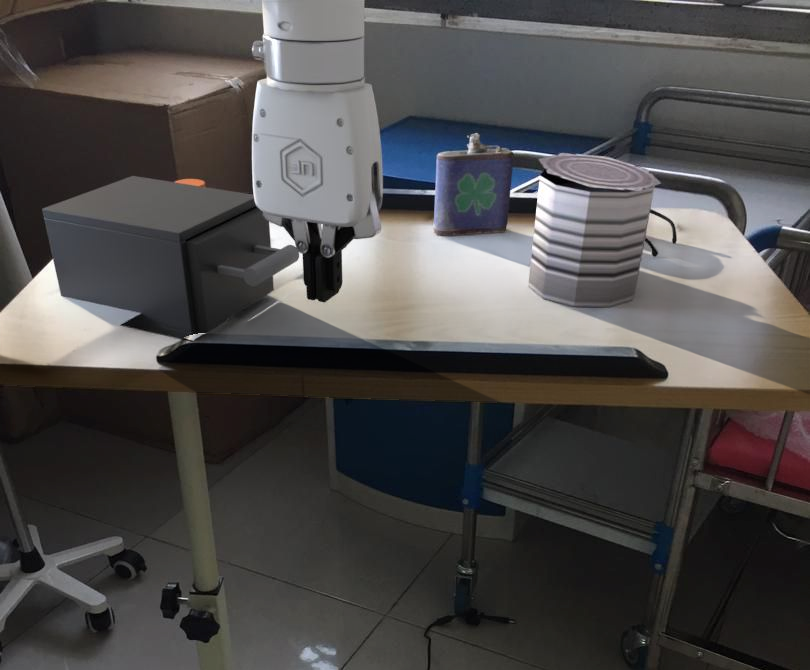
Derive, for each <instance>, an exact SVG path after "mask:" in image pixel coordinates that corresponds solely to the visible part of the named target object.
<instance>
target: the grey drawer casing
mask: <svg viewBox="0 0 810 670" xmlns="http://www.w3.org/2000/svg"><path fill="white" fill-rule="evenodd" d="M255 208H257V206H256V203H255V200H254V194H252V193H247V192H239V191H233V190H227V189H219V188H214V187H208V186H207V187H206V186H205V187H201V186H195V185H188V184H182V183H175V181H168V180H163V179H155V178H150V177H143V176H137V175H131V176H129V177H125V178H122V179H121V180H117V181H115V182H112V183H109V184H107V185H104V186H101V187H98V188H96V189H93V190H90V191H87V192H84V193H82V194H78V195H76V196H74V197H71V198H68V199H66V200H62V201H60V202H56V203H54V204H51V205H48V206H45V207H42V209H41V211H42V216H43V219H44V220H43V221H44V224H45V229H46V234H47V237H48V242H49V247H50V251H51V256H52V261H53V265H54V269H55V275H56V280H57V283H58V288H59V293H60V297H64V298H68V299H73V300H77V301H83V302H87V303H93V304H95V305H96V304H97V305H101V306H105V307H111V308H115V309H119V310H124V311H129V312H133V313H138V314H137V315H135V316H133V317H131V318H130V319H128V320H126V321H124V322H123V323H120V326H121V327H127V328H131V329H136V330H140V331H145V332H148V333H154V334H158V335H162V336H167V337H172V338H175V339H180V340H184V339H183V338H184V337H186V336H189V335H193V334H198V333H206V334H208V333H209V332H211V331H212V330H214V329H215V328H217V327H219V326H220V325H222V324H224V323H225V322H226V321H228V320H230V319H232V318H233V317H234V316H236V315H238V314H240V313H241V312H242V311H245V310H246V309H247V308H249V307H250V306H252V305H253V304H255V303H257V302H258V301H261V299H263V298H265V297H266V296H267V295H265V296H264V297H262V298H261V299H259V300H258V301H256V302H254V303H253V304H251V305H250V306H248V307H246V308H245V309H243V310H242V311H240V312H238V313H237V314H235V315H234V316H232V317H230V318H229V319H227V320H226V321H224V322H223V323H221V324H219V325H218V326H216V327H215V328H213V329H211V330H210V331H208V332H205V331H200V330H196V323H195V316H194V308H193V300H192V292H191V284H190V276H189V268H188V260H187V252H186V244H185V242H186V241H185V240H187V239H189V238H191V237H193V236H195V235H197V234H199V233H201V232H203V231H205V230H207V229H210V228H212V227H214V226H216V225H218V224H220V223H222V222H224V221H226V220H228V219H230V218H232V217H235V216H237V215H239V214H241V213H242V214H245V213H247V212H249V211H251V210H253V209H255Z"/></svg>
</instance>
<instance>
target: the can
mask: <svg viewBox="0 0 810 670" xmlns="http://www.w3.org/2000/svg"><path fill="white" fill-rule="evenodd" d="M537 160H538V162H539V163H540V164H541V166H542V167H543V168H544V170H543V171H542V172H541V173H540V175H539V181H538V191H537V201H536V210H535V220H534V229H533V236H532V247H531V256H530V264H529V265H530V266H529V275H528V284H527V287H528V288H529V289H530V290H532V291H533V292H534V293H535V294H537V296H538V297H540V298H541V299H543V300H548V301H549V302H550V301H551V302H554V303H559V304H562V305H566V306H570V307H572V308H573V307H574V308H611V307H615V306H618V305H621V304H625V303H628V302H631V301H633V300H634V297H635V293H636V290H637V286H638V280H639V274H640V270H641V264H642V263H641V262H642V258H643V252H644V248H645V247H644V246H645V243H646V242H645V238H646V236H647V230H648V226H649V225H648V224H649V220H650V214H651V213H650V209H652V204H653V196H654V191H655V186H658V185H660V184H662V182H661V181H660V180H659V179H658V178H657V177H656V176H655V175H654V174H653V173H652V172H650V170H649V169H648V168H645V167H642V166H638V165H636V164H632V163H628V162H626V161H622V160H618V159H616V158H612V157H610V156H605V155H604V156H602V155H591V154H582V153H581V154H580V153H569V152H560V153H556V154H552V155H548V156H544V157H541V158H538V159H537Z"/></svg>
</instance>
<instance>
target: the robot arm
mask: <svg viewBox="0 0 810 670" xmlns="http://www.w3.org/2000/svg"><path fill="white" fill-rule="evenodd" d="M261 5H262V9H261V10H262V24H263V34H262V40H254V41H253V43H252V46H251V54H252V57H253V58H254V60H256V61H261V62H263V63H264V64H263V65H264V73H266V78H262V79H259V80H257V81H256V82H257V83H256V89H255V96H254V104H253V106H254V107H253V115H252V131H251V171H252V172H251V174H252V191H253V195H254V200H255V203H256V206H257V207H258V208H259V209H260V210H261V211H263V212H262V214H263V217H264V219H265V220H267V221H269V223H270V224H271V223H272V224H273V225H276V226H278V227H280V228H284V230H285V231H286V233H287V234H288V235H289V236H290V237H291V239H292V240H293V241H294V244H295V245H294V246H295V247H296V249H297V250H298V252H299V254H302V273H303V285H304V286H305V287H306V299H307V300H310V301H316V300H317V301H318V302H320V303H324V304H325V303H326V302H328V301H329V300H331V299H332V298H333V297H335V296H336V295H338V294H339V293H340V290H341V288H342V287H343V250H344V249H346V248H347V247H348V245H349V244H350V243H352V241H353V240H363V239H371V238H374V237H376V236H377V235H378V234H380V233H382V223H381V219H380V214H379V211H380V210H381V208H382V204H383V198H384V197H383V195H384V173H383V152H382V140H381V130H380V124H379V116H378V110H377V104H376V99H375V94H374V90H373V86H372V84H371V83H367V82H366V60H365V59H366V54H365V53H366V48H365V47H366V46H365V45H366V43H365V42H366V41H365V40H366V38H365V27H366V26H365V0H261Z"/></svg>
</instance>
